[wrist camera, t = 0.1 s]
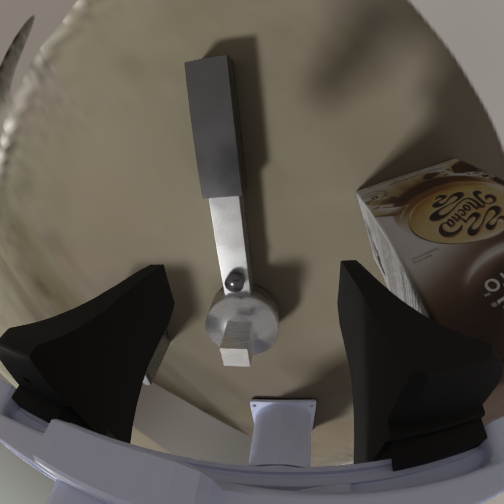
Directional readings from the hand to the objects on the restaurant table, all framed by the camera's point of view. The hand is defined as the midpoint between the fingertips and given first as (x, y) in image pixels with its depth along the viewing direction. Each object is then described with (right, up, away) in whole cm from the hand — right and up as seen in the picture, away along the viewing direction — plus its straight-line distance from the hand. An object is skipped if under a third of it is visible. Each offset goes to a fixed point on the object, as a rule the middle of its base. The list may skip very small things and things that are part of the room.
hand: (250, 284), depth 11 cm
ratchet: (-1, +4, +10) cm, 10 cm away
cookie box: (+13, +5, +8) cm, 15 cm away
